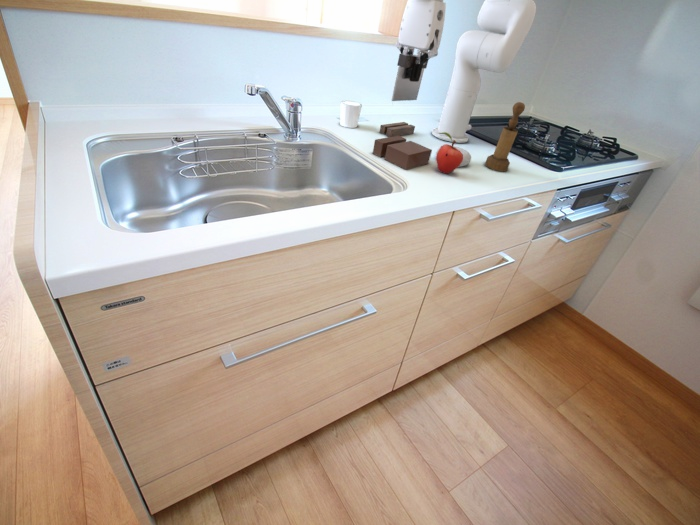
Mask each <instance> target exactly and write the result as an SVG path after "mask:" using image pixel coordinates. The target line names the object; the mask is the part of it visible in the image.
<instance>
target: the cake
mask: <svg viewBox="0 0 700 525" xmlns="http://www.w3.org/2000/svg"><path fill="white" fill-rule="evenodd" d="M432 150H433V149H431V148H429V147H426V146H424V145H422V144H420V143H417V142H415V141H412V140H408V141H407V140H406V142H402V143H396V144H391V145H387V150H386V155H385V157H384V160H385V161H387V162H388V163H391V164H393V165H395V166H397V167H400V168H401V169H403V170H405V171H407V170H409V169H413V168H414V169H415V168H418V167H421V166H425V165H428V164H429V161H430V158H431V154H432Z"/></svg>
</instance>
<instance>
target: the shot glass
mask: <svg viewBox="0 0 700 525" xmlns="http://www.w3.org/2000/svg"><path fill="white" fill-rule="evenodd" d="M362 108H363V105H362V103H360V102H358V101H353V100H342V101H340V119H339V120H340V122H339V124H340V126H342V127H344V128H347V129H356V128H357V127H358V124H359V120H360V116H361V111H362Z"/></svg>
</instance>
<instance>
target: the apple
mask: <svg viewBox="0 0 700 525" xmlns="http://www.w3.org/2000/svg"><path fill="white" fill-rule="evenodd" d="M439 134H445V135H447V136H448V137H449V138H450V139H451V140H452V138H451V136H450V134H448V133H446V132H444V133H439ZM455 144H456V141H455V140H454V141H452V142H451V145H450V144H443V145H441V146H440V147H441V148H440V147H439V148H440V149H439V148H438V149H439V151H438V153H437V155H436V158H435V159H436V166H437V170H438V171H439V172H440V173H443V174H450V173H453V172H454V171H455V170H457V169H458V168H459V167H460V166H459V165H460V164H461V163H462V161H463V154H462V153H461V152H460V151H459V150H458V149H456V148H455V147H456V146H454V145H455ZM453 146H454V147H453Z"/></svg>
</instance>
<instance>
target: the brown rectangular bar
mask: <svg viewBox="0 0 700 525" xmlns="http://www.w3.org/2000/svg"><path fill="white" fill-rule="evenodd" d="M402 142H407V138H405V137H403V136H394V137H388V136H387V137H382V138H376V139H374V142H373V143H374V144H373V149H372V155H374V156H377V157H379V158H385V155H386V150H387V145H391V144H396V143H402Z"/></svg>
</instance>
